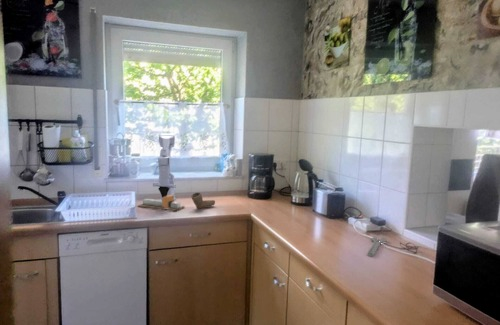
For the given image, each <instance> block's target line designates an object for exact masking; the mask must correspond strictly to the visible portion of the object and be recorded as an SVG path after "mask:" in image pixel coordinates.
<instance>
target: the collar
mask: <svg viewBox="0 0 500 325" xmlns="http://www.w3.org/2000/svg"><path fill="white" fill-rule="evenodd" d="M170 201H173V202H175V200H174V195H167V196H164V197H162V207H165V208H167V207H169V202H170Z"/></svg>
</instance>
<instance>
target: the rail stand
mask: <svg viewBox="0 0 500 325" xmlns="http://www.w3.org/2000/svg"><path fill="white" fill-rule="evenodd" d="M137 207H138V208H142V209H152V210H160V211H169V212H175V213H177V212H179V211H180V210H183V209H185V206H184V205H181V202H179V201H174V202H173V201H170V202H169V207H167V208H165V207H162V200H160V199H155V198H154V199H153V198H144V199H142V203H140V204H138V205H137Z"/></svg>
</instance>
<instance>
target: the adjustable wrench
mask: <svg viewBox="0 0 500 325" xmlns="http://www.w3.org/2000/svg"><path fill="white" fill-rule="evenodd" d="M379 241H380V242H379ZM370 242H372V243H373V242H374V243H373V244H372V246H371V247H370V248H369V250H368V251H367V253H366V256H367V257H369V258H374V257H375V255H376V253H377V252H378V250H377V249H379V248H378V247H380V246H381V245H380V244H381V243H383V242H387V243H388V239H387V238H385V237H381V238H380V239H378V237H376V236H374V237H371V238H370ZM379 245H380V246H379Z"/></svg>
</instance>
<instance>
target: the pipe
mask: <svg viewBox="0 0 500 325" xmlns="http://www.w3.org/2000/svg"><path fill="white" fill-rule="evenodd" d="M190 197H191V200H192V201H193V203H194V205H195V207H196V209H197V210H199V209H202V208H207V207H212V206H215V204H216V201H215V200H214V199H206V200H205V199H204V200H203V196H202V192H195V193H192V194H191V195H190Z"/></svg>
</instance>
